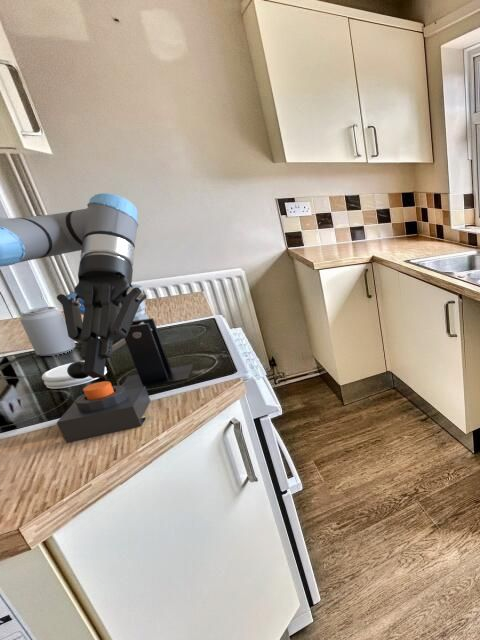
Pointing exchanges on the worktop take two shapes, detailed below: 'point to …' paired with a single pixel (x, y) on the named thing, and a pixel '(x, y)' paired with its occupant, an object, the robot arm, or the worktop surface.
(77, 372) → the lever
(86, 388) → the stop button
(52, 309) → the can
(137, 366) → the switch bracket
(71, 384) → the white thick disc
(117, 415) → the control block
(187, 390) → the worktop surface
